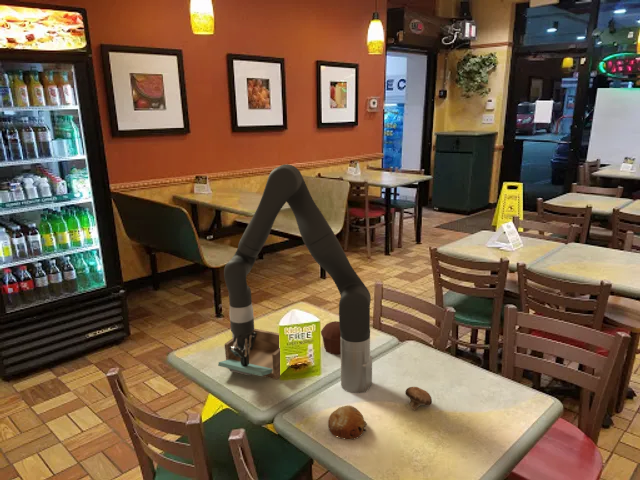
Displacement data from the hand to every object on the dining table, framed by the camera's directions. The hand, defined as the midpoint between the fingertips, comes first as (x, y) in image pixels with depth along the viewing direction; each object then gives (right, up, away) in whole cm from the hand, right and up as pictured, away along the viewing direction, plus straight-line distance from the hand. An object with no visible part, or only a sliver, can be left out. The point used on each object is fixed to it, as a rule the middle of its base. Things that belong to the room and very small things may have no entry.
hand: (245, 364), depth 156 cm
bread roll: (+32, -11, -25) cm, 43 cm away
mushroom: (+54, -8, -16) cm, 57 cm away
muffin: (+31, +1, +19) cm, 36 cm away
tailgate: (+1, -2, +3) cm, 4 cm away
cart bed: (+4, -2, +10) cm, 11 cm away
